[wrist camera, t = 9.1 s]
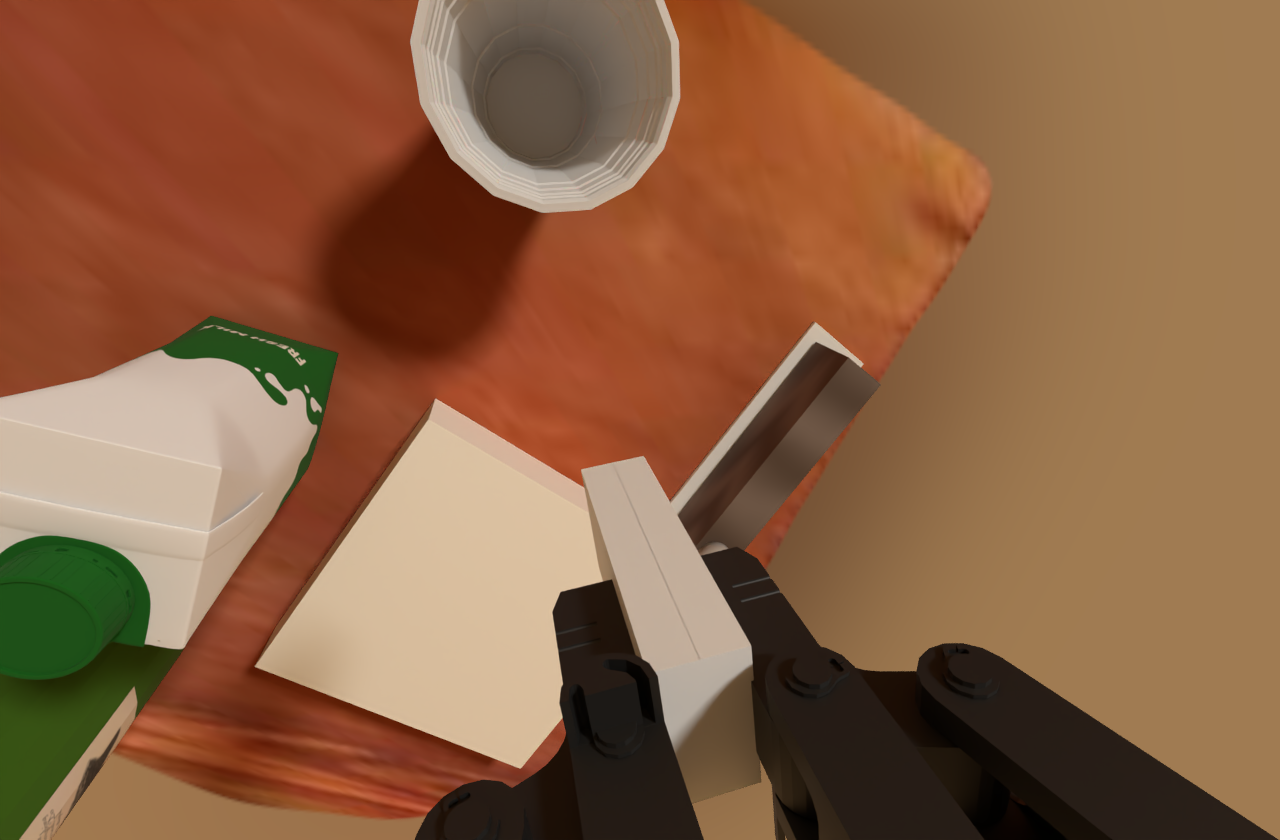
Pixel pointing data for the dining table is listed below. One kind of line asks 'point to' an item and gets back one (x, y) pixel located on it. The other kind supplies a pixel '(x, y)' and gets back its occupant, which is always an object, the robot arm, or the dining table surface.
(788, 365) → the mat
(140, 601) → the milk carton
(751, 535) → the dark grey block
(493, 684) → the cream flat square box
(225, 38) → the dining table surface
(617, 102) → the plastic cup
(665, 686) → the robot arm
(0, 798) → the wine bottle
